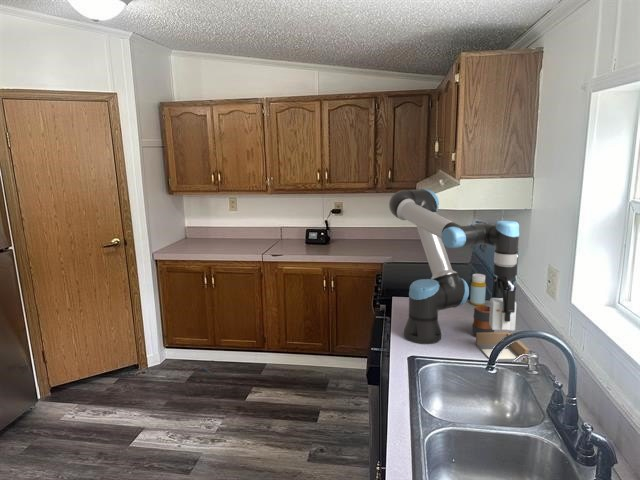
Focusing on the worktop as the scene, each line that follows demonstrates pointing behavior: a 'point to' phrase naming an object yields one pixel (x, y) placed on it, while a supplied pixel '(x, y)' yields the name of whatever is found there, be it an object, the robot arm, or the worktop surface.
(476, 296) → the bottle
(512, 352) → the brown piece
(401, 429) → the worktop surface
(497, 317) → the small box
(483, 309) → the mug
